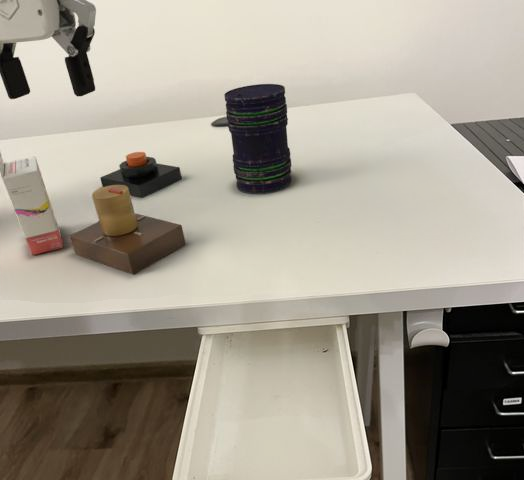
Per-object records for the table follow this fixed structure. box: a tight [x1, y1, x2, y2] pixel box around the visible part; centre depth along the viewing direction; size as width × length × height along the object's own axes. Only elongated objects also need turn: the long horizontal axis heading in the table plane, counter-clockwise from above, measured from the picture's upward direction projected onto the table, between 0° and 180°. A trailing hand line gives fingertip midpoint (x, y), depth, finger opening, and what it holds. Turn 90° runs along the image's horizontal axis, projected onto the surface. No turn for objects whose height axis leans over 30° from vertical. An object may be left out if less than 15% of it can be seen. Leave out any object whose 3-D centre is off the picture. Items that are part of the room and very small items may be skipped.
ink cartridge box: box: [0, 151, 64, 256], centre depth 81 cm, size 9×5×15 cm, turn 22°
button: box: [125, 151, 148, 167], centre depth 100 cm, size 4×4×2 cm
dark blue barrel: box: [223, 83, 293, 195], centre depth 91 cm, size 10×10×15 cm
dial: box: [91, 185, 138, 236], centre depth 77 cm, size 5×5×6 cm
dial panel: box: [69, 212, 186, 275], centre depth 79 cm, size 13×10×3 cm
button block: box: [99, 156, 183, 199], centre depth 101 cm, size 11×10×4 cm
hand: (52, 95), depth 65 cm, fingers open, 9 cm apart
